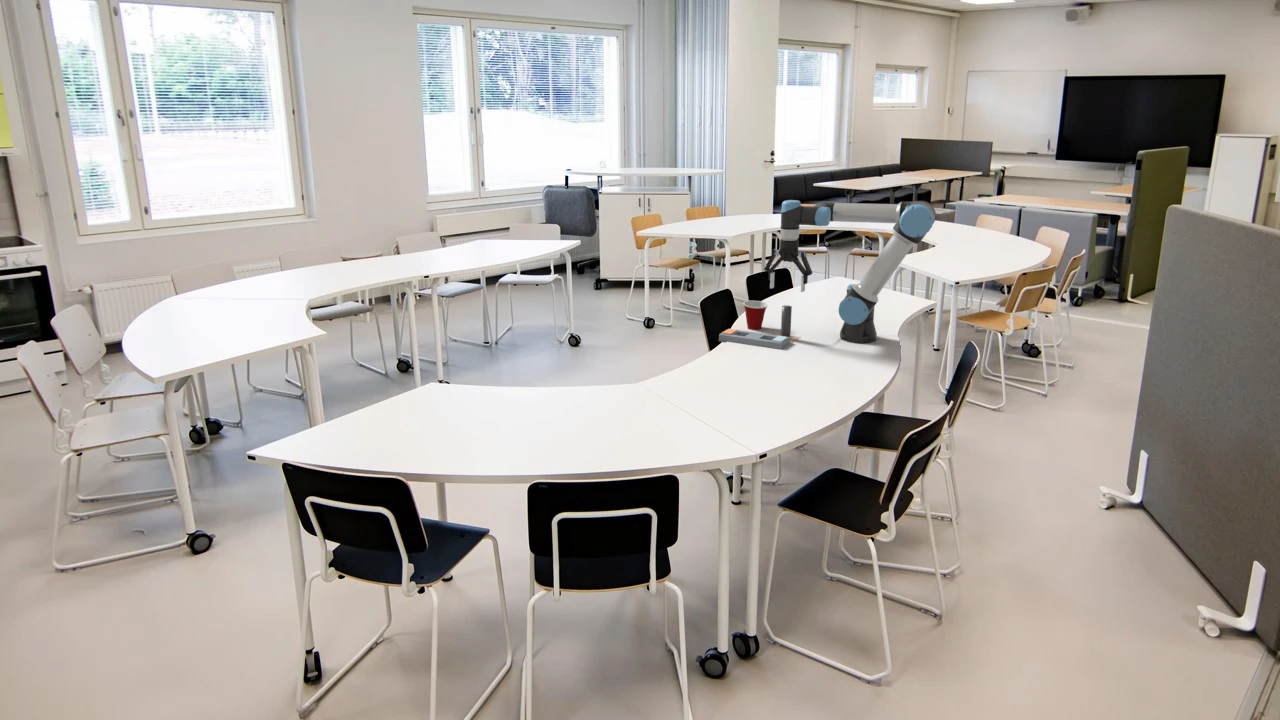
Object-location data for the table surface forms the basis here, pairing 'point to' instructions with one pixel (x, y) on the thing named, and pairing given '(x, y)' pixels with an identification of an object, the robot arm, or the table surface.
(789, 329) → the plug
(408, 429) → the table surface
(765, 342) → the socket block
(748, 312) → the plastic cup
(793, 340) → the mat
